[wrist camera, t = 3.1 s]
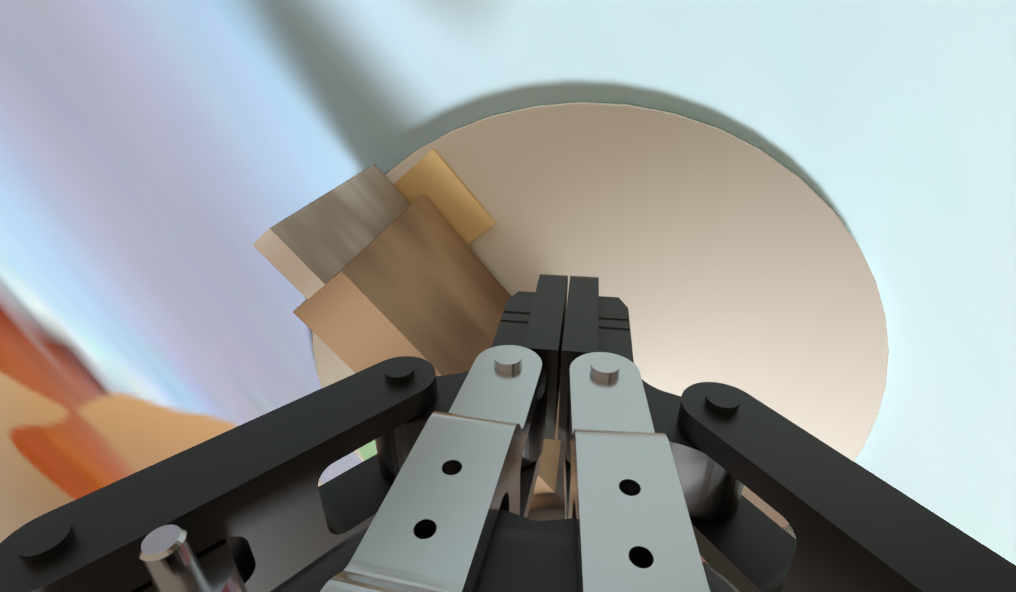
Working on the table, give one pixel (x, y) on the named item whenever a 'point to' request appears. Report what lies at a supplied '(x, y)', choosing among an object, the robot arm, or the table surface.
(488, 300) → the peg lever
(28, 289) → the table surface
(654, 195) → the disc
